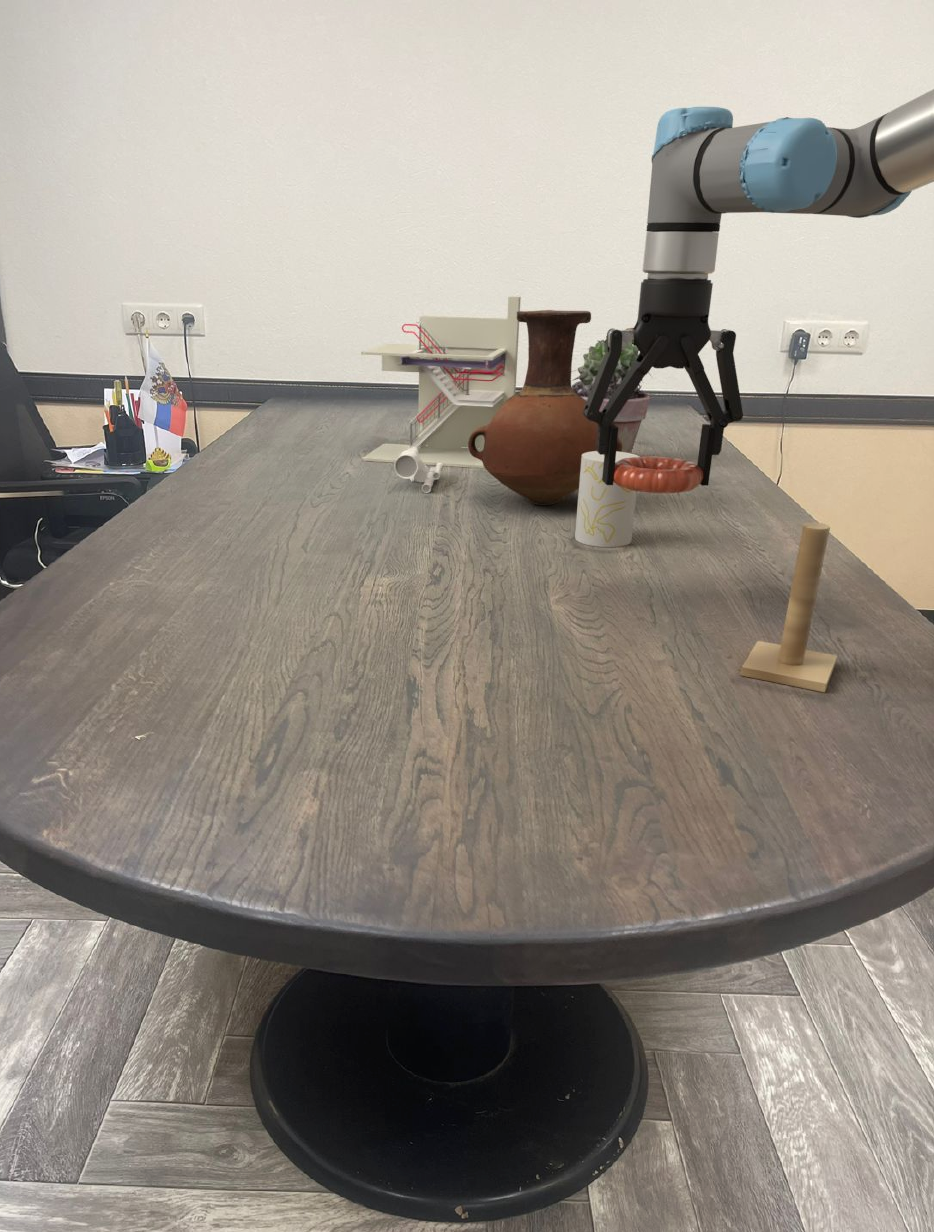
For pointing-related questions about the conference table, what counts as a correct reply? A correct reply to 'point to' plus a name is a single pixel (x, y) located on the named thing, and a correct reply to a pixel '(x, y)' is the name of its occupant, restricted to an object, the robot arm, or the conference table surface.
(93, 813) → the conference table surface
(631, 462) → the ring
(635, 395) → the potted plant
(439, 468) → the white pipe fitting
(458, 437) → the staircase
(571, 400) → the vase
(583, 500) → the white patterned cylinder
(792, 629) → the post
